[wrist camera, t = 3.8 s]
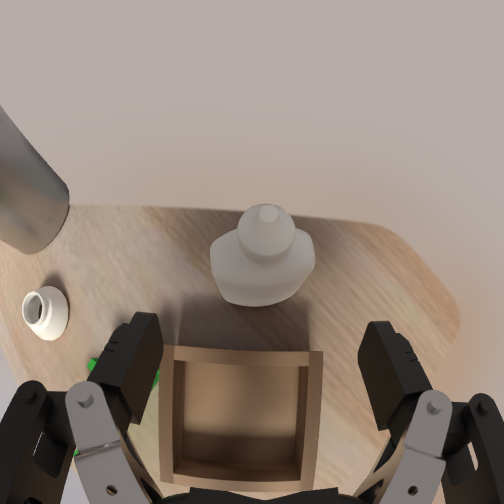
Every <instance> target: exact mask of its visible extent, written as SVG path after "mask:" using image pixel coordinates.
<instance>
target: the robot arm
mask: <svg viewBox="0 0 504 504" xmlns="http://www.w3.org/2000/svg"><path fill="white" fill-rule="evenodd" d="M68 206H69V190H68V188H67V186H66V184H65V183H64V182H63V181H62V179H61V178H60V177H59V176H58V175H57V174H56V173H55V172H54V171H53V169H52V168H51V167H50V166H49V165H48V164H47V162H46V161H45V160H44V159H43V158H42V157H41V156H40V154H39V153H38V152H37V151H36V150H35V148H34V147H33V146H32V145H31V144H30V143H29V141H28V140H27V139H26V138H25V136H24V135H23V134H22V133H21V132H20V130H19V129H18V128H17V127H16V126H15V124H14V123H13V121H12V120H11V119H10V118H9V116H8V115H7V114H6V112H5V111H4V110H3V108H2V107H1V106H0V240H2V241H3V242H5V243H7V244H8V245H10V246H12V247H14V248H15V249H17V250H19V251H21V252H23V253H25V254H32V253H36V252H38V251H40V250H42V249H43V248H44V247H45V246H47V245H48V244H49V243H50V242H51V241H52V240H53V238H54V237H55V236H56V234H57V233H58V231H59V230H60V228H61V226H62V224H63V222H64V220H65V217H66V214H67V211H68ZM163 351H164V345H163V339H162V335H161V330H160V326H159V321H158V317H157V315H156V314H155V313H146V312H136V313H135V314H134V316H133V318H132V320H131V322H130V323H129V324H127V323H123V324H122V325H121V326H120V327H118V328H117V329H116V330H115V331H114V332H113V334H112V336H111V337H110V339H109V342H108V343H107V344H106V346H105V348H104V351H102V353H101V355H100V357H99V359H98V360H97V362H96V364H95V366H94V368H93V370H92V371H91V373H90V375H89V377H88V379H87V381H83V382H79V383H76V384H75V385H73V386H72V387H71V388H70V389H69V390H68V391H67V392H57V391H47V390H46V388H45V387H44V386H43V384H42V383H40V382H38V381H34V380H31V381H27V382H25V383H23V384H22V385H21V386H20V387H19V388H18V389H17V391H16V393H15V395H14V397H13V399H12V401H11V402H10V404H9V406H8V408H7V410H6V412H5V414H4V416H3V419H2V420H1V422H0V504H60V502H61V497H62V493H63V490H64V485H65V482H66V479H67V475H68V472H69V468H70V465H71V462H72V458H73V455H74V452H75V449H76V446H77V450H78V454H76V455H75V456H74V461H75V465H76V468H77V471H78V474H79V477H80V480H81V482H82V485H83V488H84V491H85V493H86V496H87V498H88V500H89V503H90V504H432V502H433V499H434V497H435V494H436V492H437V489H438V486H439V484H440V481H441V483H442V487H443V492H444V497H445V502H446V504H504V422H503V419H502V417H501V415H500V413H499V410H498V408H497V406H496V404H495V402H494V400H493V399H492V398H491V397H490V396H488V395H486V394H483V393H479V394H475V395H474V396H473V397H472V398H471V399H470V401H469V402H468V403H465V402H464V403H463V402H451V401H450V399H449V398H448V397H447V396H446V395H445V394H444V393H442V392H440V391H437V390H433V388H432V386H431V384H430V382H429V380H428V378H427V376H426V374H425V372H424V370H423V368H422V366H421V364H420V362H419V361H418V358H417V356H416V354H415V353H414V351H413V349H412V347H411V345H410V343H409V341H408V340H407V339H406V338H404V337H403V336H402V335H401V334H400V333H395V331H394V329H393V327H392V325H391V323H390V322H389V321H372V322H369V324H368V326H367V328H366V331H365V334H364V337H363V340H362V342H361V345H360V348H359V351H358V365H359V368H360V371H361V374H362V377H363V380H364V383H365V387H366V390H367V393H368V396H369V400H370V403H371V406H372V410H373V413H374V417H375V420H376V424H377V427H378V431H381V430H386V429H389V431H390V435H389V436H388V438H387V440H386V442H385V444H384V446H383V448H382V451H381V452H380V454H379V456H378V459H377V460H376V462H375V464H374V466H373V468H372V470H371V471H370V473H369V475H368V476H367V478H366V479H365V480H364V482H363V483H362V484H361V485H360V486H359V488H358V489H357V490H356V492H355V493H354V495H353V496H350V495H345V494H338V487H336V488H328V489H320V490H310V491H302V492H298V493H295V494H291V495H287V496H283V497H279V498H275V499H271V500H260V499H255V498H251V497H247V496H243V495H239V494H236V493H232V492H228V491H221V490H211V489H202V488H195V487H190V492H189V493H182V494H176V495H172V496H168V497H165V498H164V496H163V495H162V493H161V491H160V490H159V488H158V487H157V485H156V484H155V482H154V481H153V479H152V478H151V476H150V475H149V473H148V472H147V470H146V468H145V466H144V464H143V462H142V460H141V458H140V456H139V454H138V452H137V450H136V448H135V446H134V444H133V442H132V440H131V438H130V435H129V433H128V431H127V430H128V427H129V424H130V423H134V424H138V425H140V423H141V420H142V416H143V413H144V410H145V407H146V404H147V401H148V398H149V395H150V392H151V389H152V386H153V383H154V380H155V377H156V374H157V372H158V369H159V366H160V363H161V360H162V357H163ZM41 433H42V435H41ZM40 435H41V438H40ZM39 438H40V440H39ZM38 440H39V443H38ZM470 442H472V445H473V448H474V451H475V454H476V457H477V460H478V468H477V470H476V471H475V468H474V465H473V462H472V458H471V455H470V452H469V448H468V446H467V445H468V444H469V443H470ZM37 443H38V445H37ZM36 445H37V448H36ZM35 448H36V451H35ZM34 451H35V453H34ZM33 454H34V456H33Z"/></svg>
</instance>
